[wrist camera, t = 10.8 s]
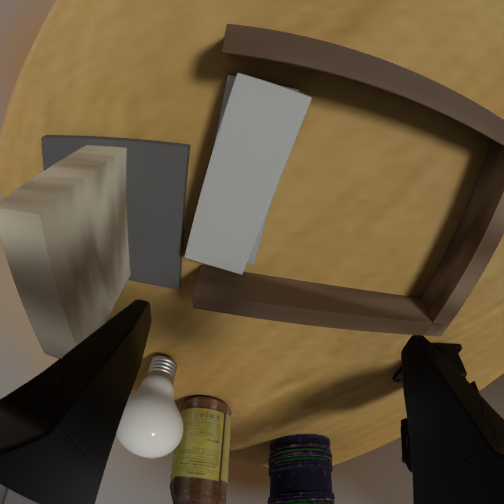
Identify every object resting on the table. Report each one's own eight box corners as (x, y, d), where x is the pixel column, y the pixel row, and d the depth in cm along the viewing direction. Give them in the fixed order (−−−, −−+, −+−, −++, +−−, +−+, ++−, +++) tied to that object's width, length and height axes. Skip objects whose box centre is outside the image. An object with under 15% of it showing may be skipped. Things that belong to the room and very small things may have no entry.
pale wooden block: (130, 274, 23) (84, 367, 15) (97, 267, 23) (45, 353, 15) (126, 147, 17) (39, 214, 10) (86, 145, 17) (-7, 207, 10)
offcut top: (243, 264, 22) (242, 274, 21) (188, 247, 21) (184, 257, 20) (309, 96, 15) (312, 97, 14) (239, 72, 15) (237, 72, 14)
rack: (429, 312, 25) (440, 336, 22) (199, 280, 23) (192, 307, 21) (513, 132, 15) (538, 145, 12) (233, 31, 14) (227, 23, 11)
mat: (180, 284, 24) (179, 289, 23) (62, 260, 23) (59, 264, 23) (190, 144, 18) (187, 147, 17) (46, 135, 17) (41, 137, 17)
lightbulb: (162, 379, 32) (140, 466, 23) (124, 345, 29) (90, 438, 20) (208, 370, 30) (192, 468, 21) (170, 332, 27) (140, 440, 18)
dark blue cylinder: (255, 443, 42) (251, 529, 29) (307, 428, 38) (311, 524, 25) (293, 457, 46) (294, 531, 33) (341, 442, 42) (348, 523, 29)
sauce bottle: (172, 398, 34) (144, 546, 18) (210, 388, 32) (188, 556, 16) (206, 420, 37) (189, 553, 21) (244, 411, 35) (233, 559, 19)
